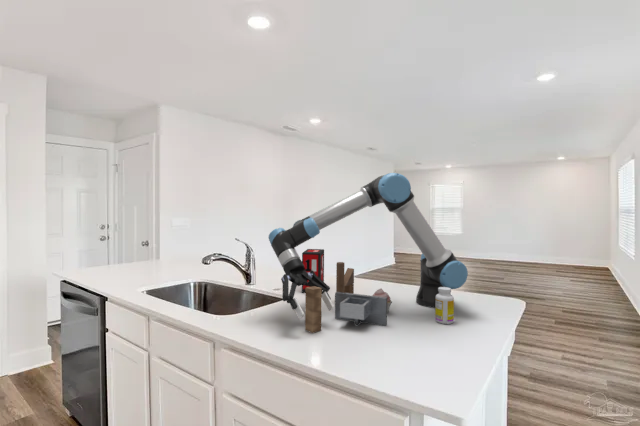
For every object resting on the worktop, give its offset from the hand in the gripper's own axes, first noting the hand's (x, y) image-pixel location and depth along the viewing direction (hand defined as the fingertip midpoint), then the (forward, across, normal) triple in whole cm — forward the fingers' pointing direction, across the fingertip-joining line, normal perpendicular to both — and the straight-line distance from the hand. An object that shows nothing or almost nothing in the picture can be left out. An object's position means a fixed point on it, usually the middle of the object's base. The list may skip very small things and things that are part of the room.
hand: (317, 312), depth 126 cm
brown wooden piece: (-12, -36, -22) cm, 44 cm away
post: (+3, 0, -6) cm, 7 cm away
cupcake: (+4, -35, -6) cm, 36 cm away
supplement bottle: (+21, -45, +11) cm, 50 cm away
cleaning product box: (-30, -39, -40) cm, 63 cm away
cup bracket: (+8, -15, -2) cm, 17 cm away
